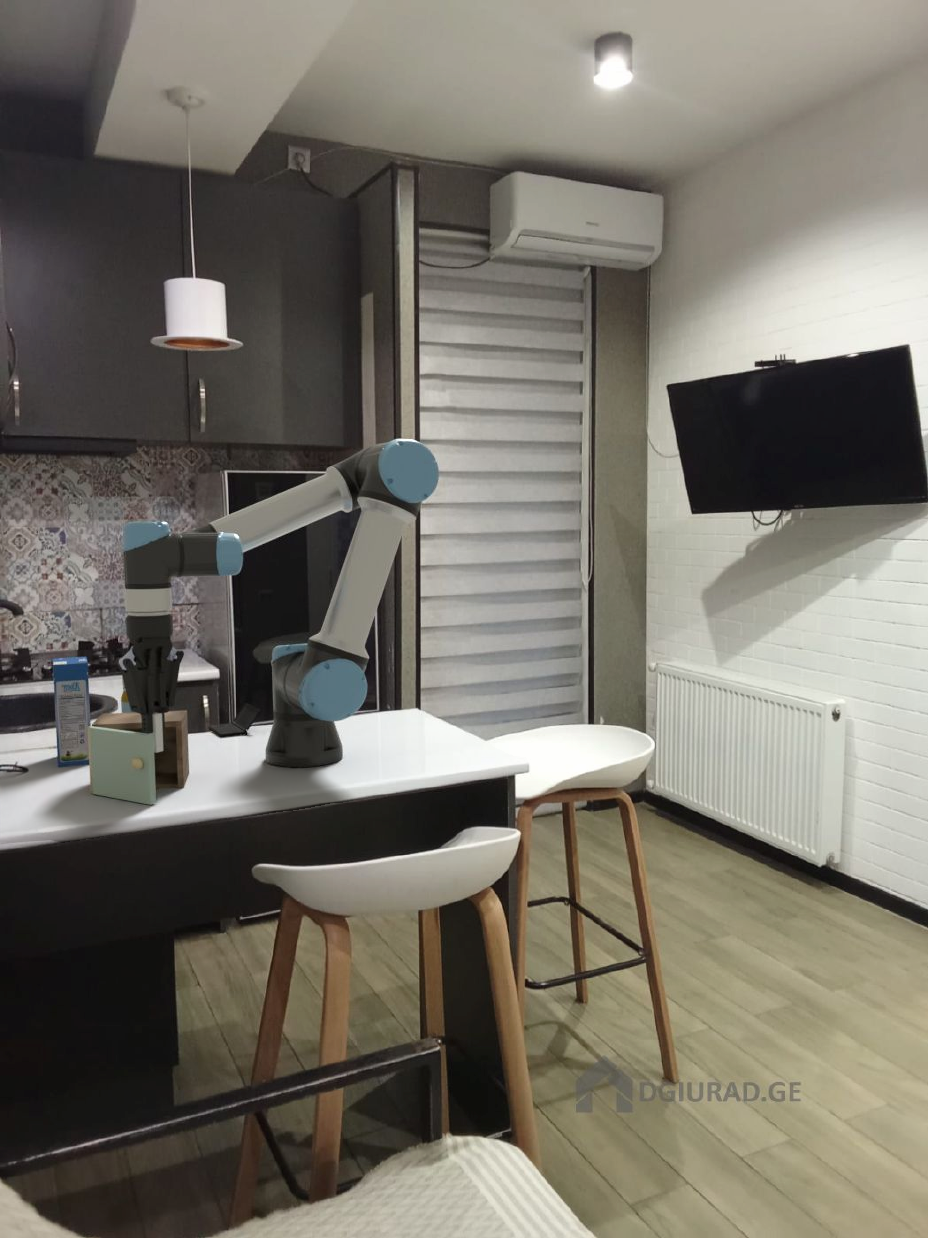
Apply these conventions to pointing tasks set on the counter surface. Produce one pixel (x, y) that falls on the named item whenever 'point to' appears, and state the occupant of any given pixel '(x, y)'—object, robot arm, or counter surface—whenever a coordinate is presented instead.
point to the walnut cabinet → (175, 744)
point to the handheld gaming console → (237, 723)
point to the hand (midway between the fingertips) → (154, 750)
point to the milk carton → (71, 710)
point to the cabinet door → (122, 764)
